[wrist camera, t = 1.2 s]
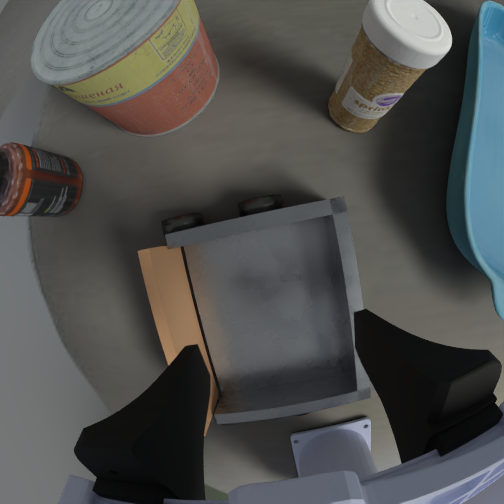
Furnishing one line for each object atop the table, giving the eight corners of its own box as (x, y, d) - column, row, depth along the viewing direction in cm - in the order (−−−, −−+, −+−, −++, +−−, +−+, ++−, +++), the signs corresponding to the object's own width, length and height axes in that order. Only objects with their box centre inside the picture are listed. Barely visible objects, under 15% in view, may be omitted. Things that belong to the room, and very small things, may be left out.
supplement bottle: (57, 151, 24) (-22, 127, 13) (94, 168, 24) (7, 143, 13) (38, 204, 25) (-44, 200, 13) (72, 226, 24) (-17, 228, 13)
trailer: (357, 382, 23) (370, 408, 19) (217, 406, 25) (208, 435, 20) (327, 188, 22) (339, 179, 18) (169, 222, 24) (147, 221, 19)
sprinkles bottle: (346, 142, 22) (415, 60, 9) (317, 98, 22) (350, -9, 8) (387, 122, 22) (470, 45, 8) (358, 81, 21) (413, -17, 8)
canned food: (99, 73, 23) (31, 20, 11) (196, 21, 22) (160, -60, 10) (124, 159, 24) (33, 121, 12) (239, 100, 22) (212, 10, 10)
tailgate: (219, 395, 24) (205, 436, 18) (210, 395, 24) (194, 436, 18) (179, 243, 23) (148, 248, 17) (169, 245, 23) (136, 251, 17)
